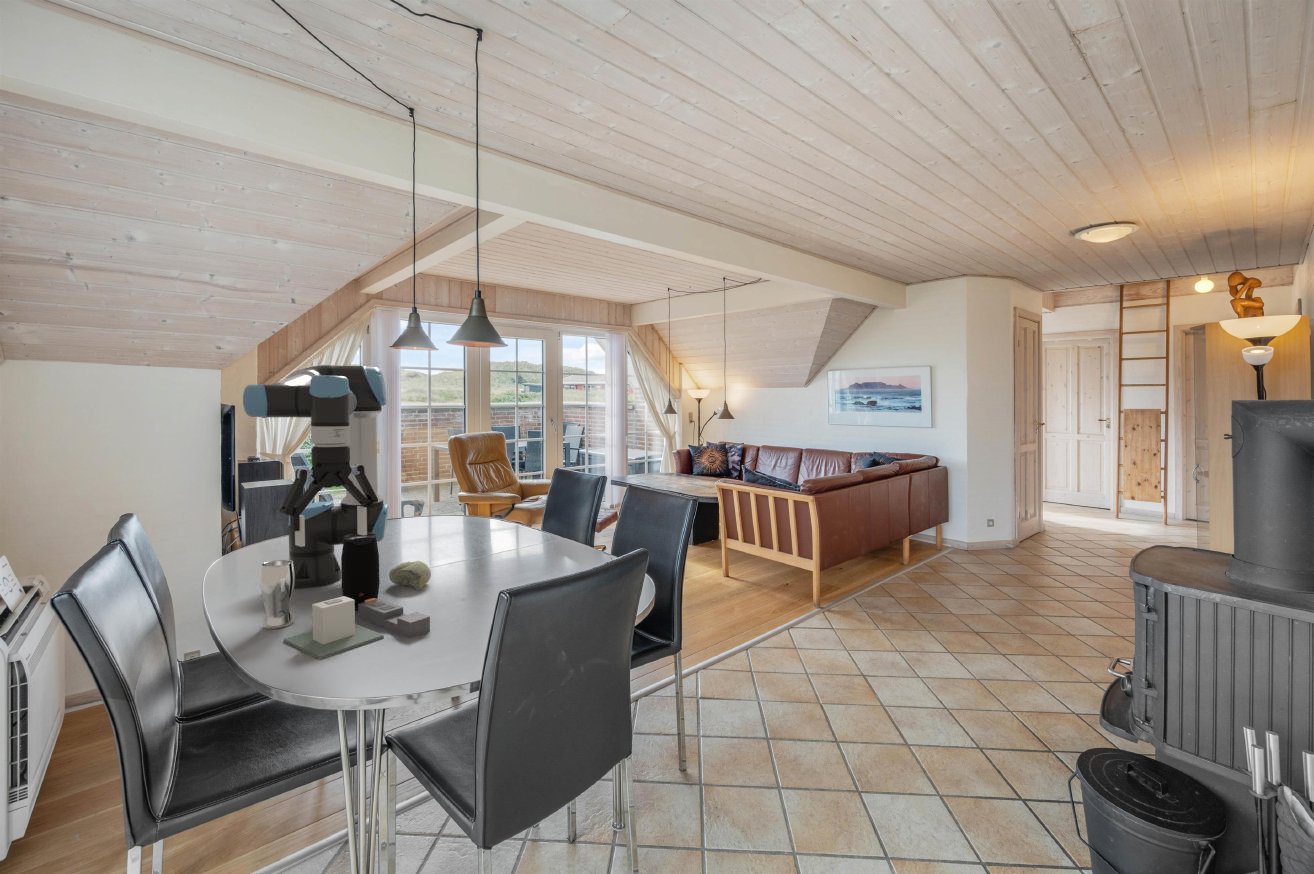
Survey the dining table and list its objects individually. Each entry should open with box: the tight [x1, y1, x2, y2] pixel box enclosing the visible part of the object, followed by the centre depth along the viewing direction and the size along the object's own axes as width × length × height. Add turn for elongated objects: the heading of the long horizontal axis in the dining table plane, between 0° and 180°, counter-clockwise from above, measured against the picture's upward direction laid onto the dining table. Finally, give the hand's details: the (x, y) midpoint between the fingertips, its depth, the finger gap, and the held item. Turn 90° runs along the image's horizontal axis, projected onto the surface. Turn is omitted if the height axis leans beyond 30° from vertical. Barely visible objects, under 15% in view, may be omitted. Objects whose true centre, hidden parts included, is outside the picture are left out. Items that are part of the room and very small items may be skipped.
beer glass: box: [259, 558, 295, 630], centre depth 139 cm, size 7×7×15 cm
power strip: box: [357, 598, 431, 638], centre depth 140 cm, size 22×5×4 cm, turn 56°
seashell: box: [388, 560, 432, 591], centre depth 171 cm, size 13×8×10 cm
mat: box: [283, 623, 385, 660], centre depth 131 cm, size 16×14×1 cm
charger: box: [311, 595, 356, 644], centre depth 131 cm, size 4×7×8 cm, turn 146°
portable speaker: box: [340, 532, 380, 609], centre depth 152 cm, size 8×9×19 cm
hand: (332, 539), depth 130 cm, fingers open, 13 cm apart
